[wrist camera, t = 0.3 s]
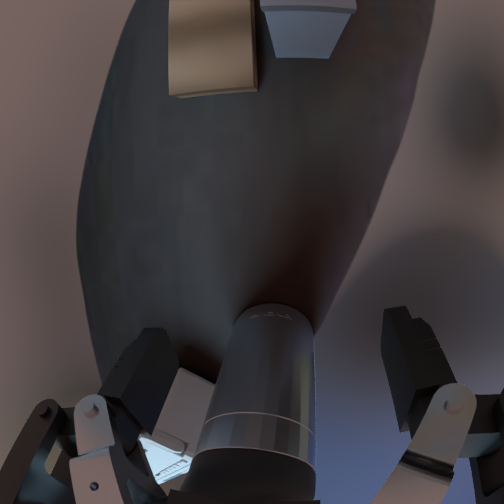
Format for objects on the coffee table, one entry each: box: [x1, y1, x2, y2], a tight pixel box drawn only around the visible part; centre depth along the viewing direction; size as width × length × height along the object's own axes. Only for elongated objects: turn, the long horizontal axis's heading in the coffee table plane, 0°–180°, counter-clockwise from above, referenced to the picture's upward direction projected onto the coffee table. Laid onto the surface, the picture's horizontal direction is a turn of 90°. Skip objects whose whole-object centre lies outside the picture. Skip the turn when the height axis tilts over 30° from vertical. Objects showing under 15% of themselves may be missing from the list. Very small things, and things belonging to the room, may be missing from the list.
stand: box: [168, 0, 258, 98], centre depth 20 cm, size 11×7×3 cm, turn 2°
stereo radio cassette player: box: [138, 368, 215, 484], centre depth 32 cm, size 21×8×20 cm, turn 147°
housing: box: [260, 0, 357, 59], centre depth 15 cm, size 5×5×12 cm
